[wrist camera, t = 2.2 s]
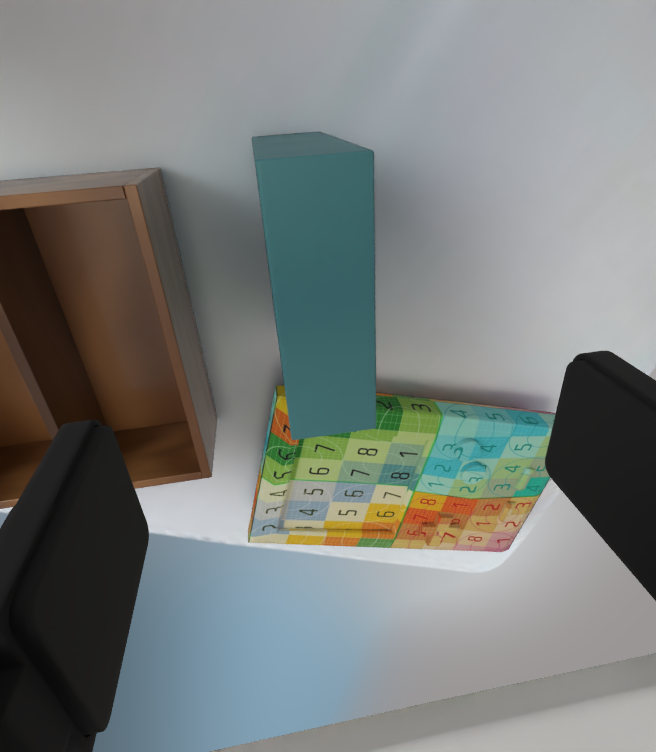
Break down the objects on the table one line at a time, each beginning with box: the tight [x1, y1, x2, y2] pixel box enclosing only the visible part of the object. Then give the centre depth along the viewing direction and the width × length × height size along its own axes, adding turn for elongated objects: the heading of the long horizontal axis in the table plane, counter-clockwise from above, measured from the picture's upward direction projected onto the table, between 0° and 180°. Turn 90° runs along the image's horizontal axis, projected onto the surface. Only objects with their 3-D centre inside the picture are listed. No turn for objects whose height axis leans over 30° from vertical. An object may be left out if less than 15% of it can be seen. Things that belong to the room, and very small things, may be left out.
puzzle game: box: [248, 385, 556, 552], centre depth 32 cm, size 12×5×20 cm
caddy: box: [0, 168, 217, 509], centre depth 23 cm, size 14×15×6 cm
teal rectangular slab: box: [252, 132, 376, 440], centre depth 20 cm, size 3×10×11 cm, turn 3°
